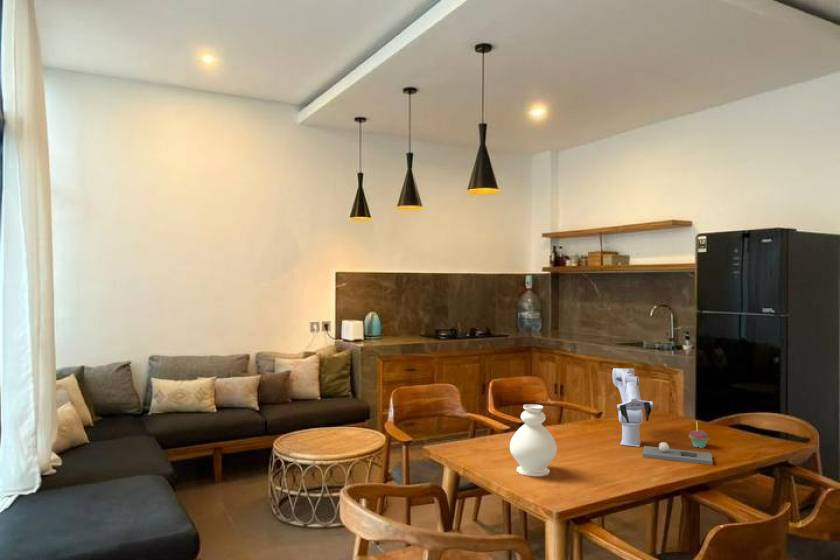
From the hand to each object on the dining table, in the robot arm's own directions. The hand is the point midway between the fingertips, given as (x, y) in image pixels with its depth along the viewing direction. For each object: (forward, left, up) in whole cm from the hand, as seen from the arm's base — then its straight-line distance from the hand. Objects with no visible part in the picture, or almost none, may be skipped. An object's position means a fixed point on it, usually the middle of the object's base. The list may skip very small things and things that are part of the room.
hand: (637, 420), depth 244 cm
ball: (-7, +10, -12) cm, 17 cm away
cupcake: (-27, +24, -16) cm, 40 cm away
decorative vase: (+35, -36, -16) cm, 52 cm away
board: (-7, +15, -15) cm, 23 cm away
